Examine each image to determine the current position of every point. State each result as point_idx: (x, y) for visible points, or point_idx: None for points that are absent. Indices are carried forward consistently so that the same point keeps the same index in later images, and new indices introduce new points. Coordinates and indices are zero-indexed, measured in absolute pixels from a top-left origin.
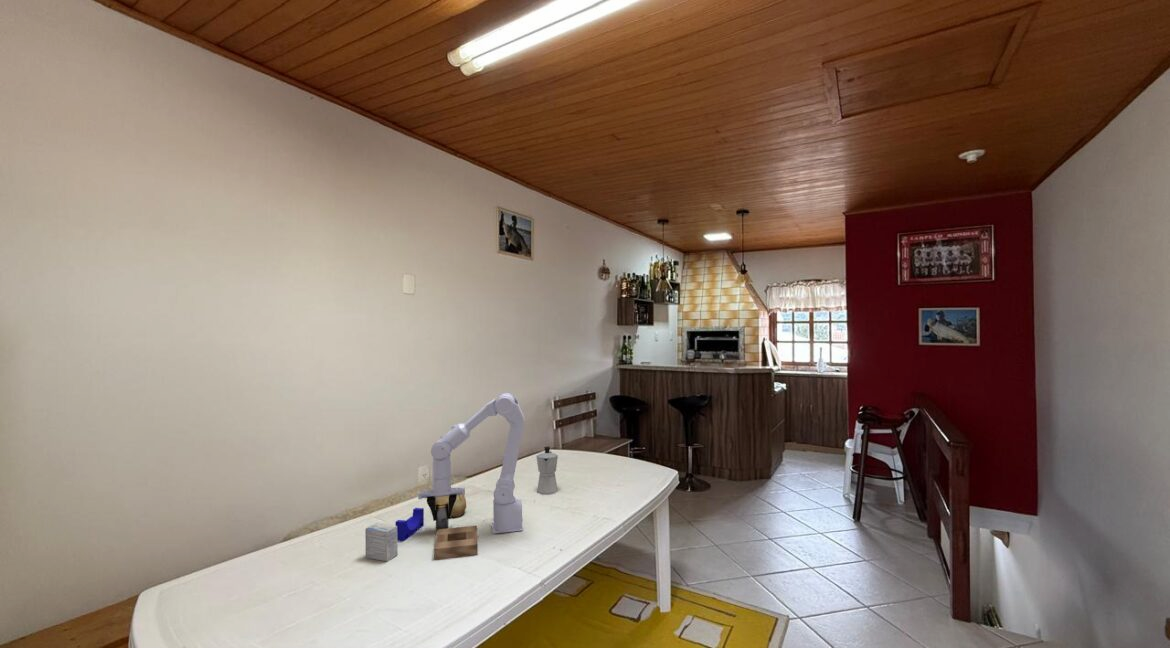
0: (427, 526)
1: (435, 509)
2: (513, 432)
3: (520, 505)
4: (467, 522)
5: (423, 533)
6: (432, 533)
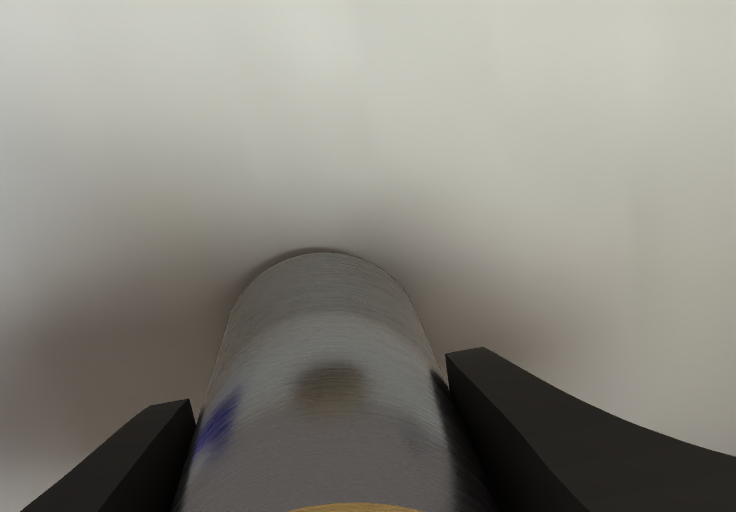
0: (15, 120)
1: (126, 504)
2: None
3: None
4: (679, 19)
5: (57, 386)
6: (197, 395)
